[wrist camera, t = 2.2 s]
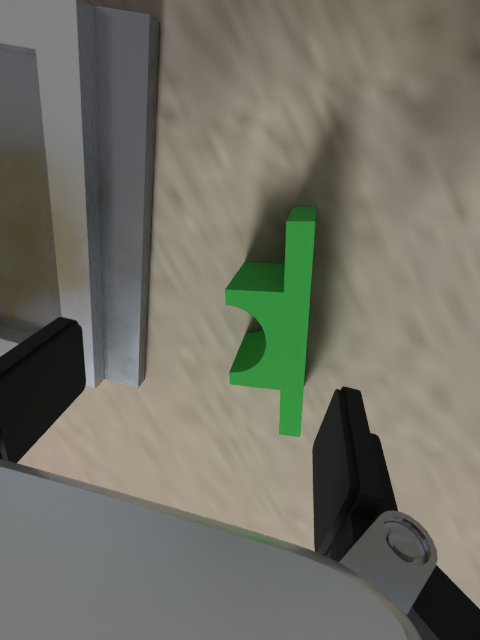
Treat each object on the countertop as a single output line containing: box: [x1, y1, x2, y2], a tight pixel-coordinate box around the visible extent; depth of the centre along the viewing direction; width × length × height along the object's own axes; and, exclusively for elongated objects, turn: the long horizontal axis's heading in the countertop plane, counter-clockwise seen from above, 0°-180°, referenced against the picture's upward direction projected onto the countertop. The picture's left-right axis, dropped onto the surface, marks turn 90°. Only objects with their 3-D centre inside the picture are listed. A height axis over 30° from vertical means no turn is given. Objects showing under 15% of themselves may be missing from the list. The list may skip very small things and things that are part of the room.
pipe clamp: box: [225, 206, 316, 437], centre depth 17 cm, size 11×4×5 cm, turn 2°
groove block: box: [0, 0, 160, 389], centre depth 19 cm, size 16×20×2 cm
